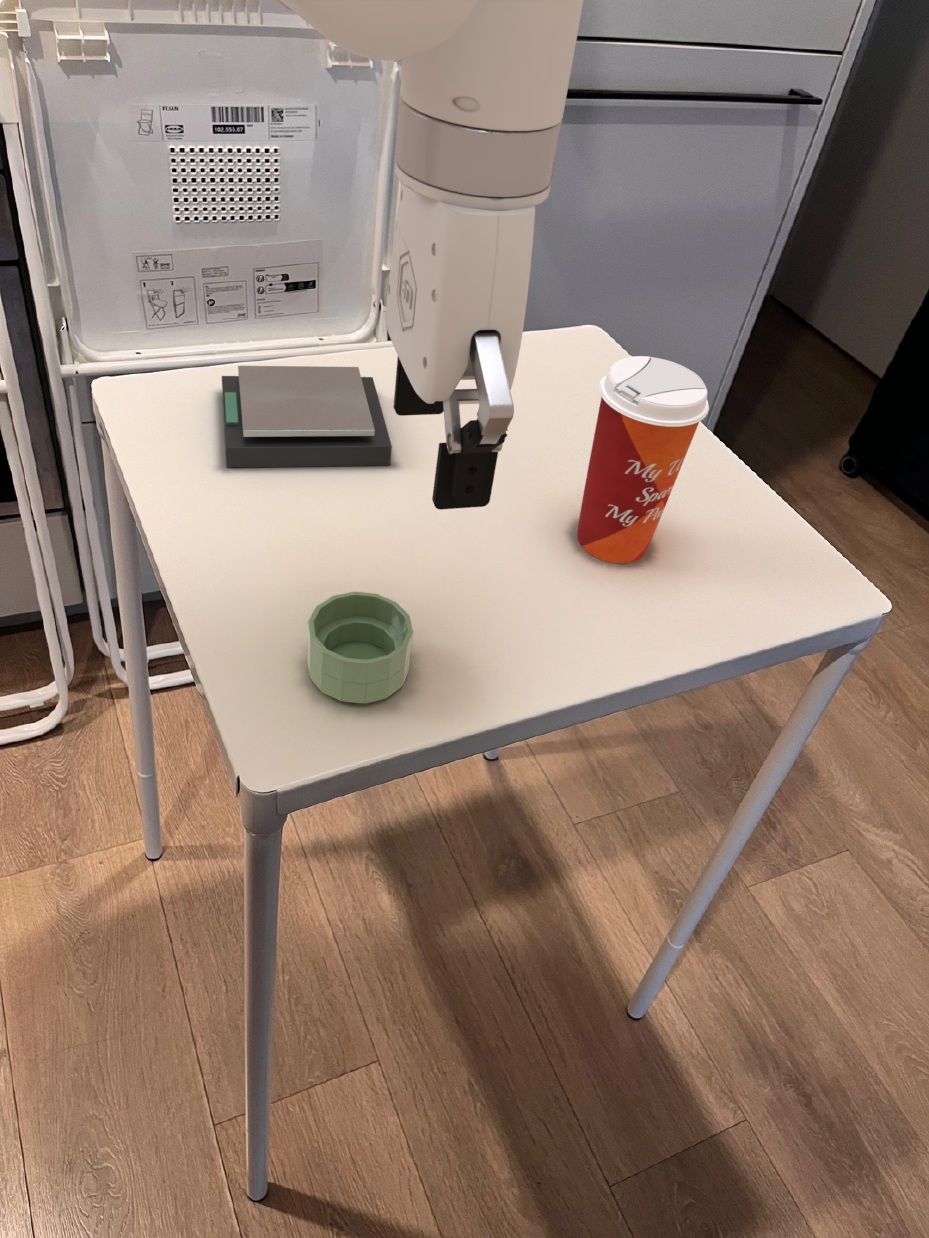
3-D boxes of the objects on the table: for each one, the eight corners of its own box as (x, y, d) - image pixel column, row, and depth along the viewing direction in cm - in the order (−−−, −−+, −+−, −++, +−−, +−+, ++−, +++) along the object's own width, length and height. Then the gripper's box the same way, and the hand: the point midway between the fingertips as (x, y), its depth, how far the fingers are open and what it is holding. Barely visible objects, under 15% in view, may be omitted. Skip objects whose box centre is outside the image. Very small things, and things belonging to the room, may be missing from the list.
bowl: (313, 711, 62) (314, 666, 59) (303, 638, 66) (304, 593, 64) (414, 704, 63) (420, 660, 60) (398, 633, 68) (403, 589, 65)
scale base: (226, 468, 80) (225, 444, 79) (222, 394, 89) (221, 372, 87) (390, 465, 83) (392, 443, 82) (371, 395, 92) (372, 374, 90)
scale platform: (243, 437, 79) (243, 431, 79) (238, 371, 87) (237, 365, 86) (374, 436, 82) (374, 430, 81) (358, 372, 89) (358, 366, 89)
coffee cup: (615, 585, 75) (666, 420, 65) (542, 531, 79) (580, 367, 69) (681, 550, 80) (738, 390, 69) (609, 500, 84) (653, 342, 74)
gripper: (362, 91, 50) (348, 384, 61) (447, 218, 38) (410, 553, 49) (497, 99, 52) (460, 381, 63) (618, 222, 40) (545, 542, 51)
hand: (438, 456), depth 56 cm, fingers open, 9 cm apart
